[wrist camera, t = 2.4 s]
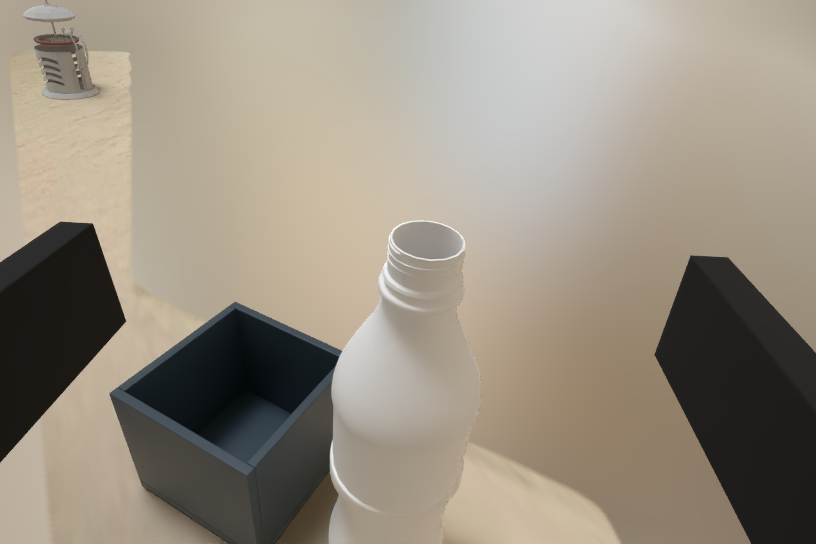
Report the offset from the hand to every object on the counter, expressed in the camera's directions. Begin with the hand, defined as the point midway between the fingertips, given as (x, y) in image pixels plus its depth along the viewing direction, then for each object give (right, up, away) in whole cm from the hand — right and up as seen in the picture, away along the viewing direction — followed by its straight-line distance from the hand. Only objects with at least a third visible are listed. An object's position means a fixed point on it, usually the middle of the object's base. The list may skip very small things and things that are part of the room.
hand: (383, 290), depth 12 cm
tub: (-11, -14, +27) cm, 32 cm away
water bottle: (-1, -19, +22) cm, 29 cm away
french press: (-65, +35, +88) cm, 115 cm away
